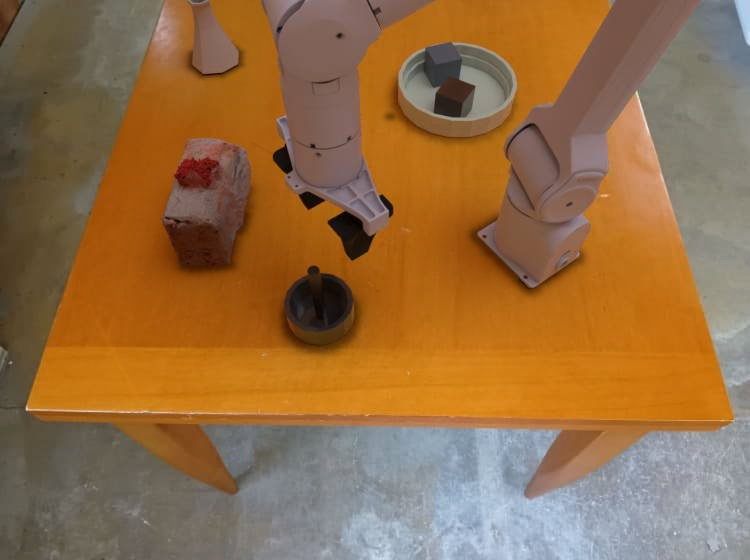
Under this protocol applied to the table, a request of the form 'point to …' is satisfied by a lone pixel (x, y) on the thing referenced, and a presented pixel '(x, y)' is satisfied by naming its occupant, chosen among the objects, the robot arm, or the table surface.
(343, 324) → the holder
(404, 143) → the table surface
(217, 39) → the flask
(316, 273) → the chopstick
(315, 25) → the robot arm
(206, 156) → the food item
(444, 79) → the slate block
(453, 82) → the walnut block
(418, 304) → the table surface
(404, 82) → the bowl
